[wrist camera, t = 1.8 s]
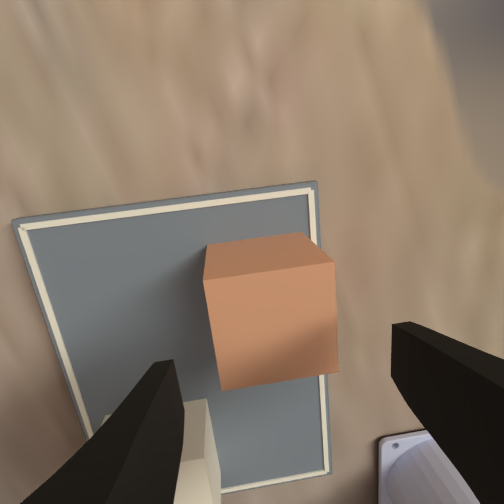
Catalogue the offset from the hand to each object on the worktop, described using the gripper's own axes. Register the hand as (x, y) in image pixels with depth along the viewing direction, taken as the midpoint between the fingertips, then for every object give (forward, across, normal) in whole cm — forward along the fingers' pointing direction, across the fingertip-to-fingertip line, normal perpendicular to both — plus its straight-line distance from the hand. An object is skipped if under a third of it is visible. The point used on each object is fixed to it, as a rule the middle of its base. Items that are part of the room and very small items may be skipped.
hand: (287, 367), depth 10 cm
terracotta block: (+7, 0, 0) cm, 7 cm away
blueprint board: (+8, +4, +5) cm, 10 cm away
